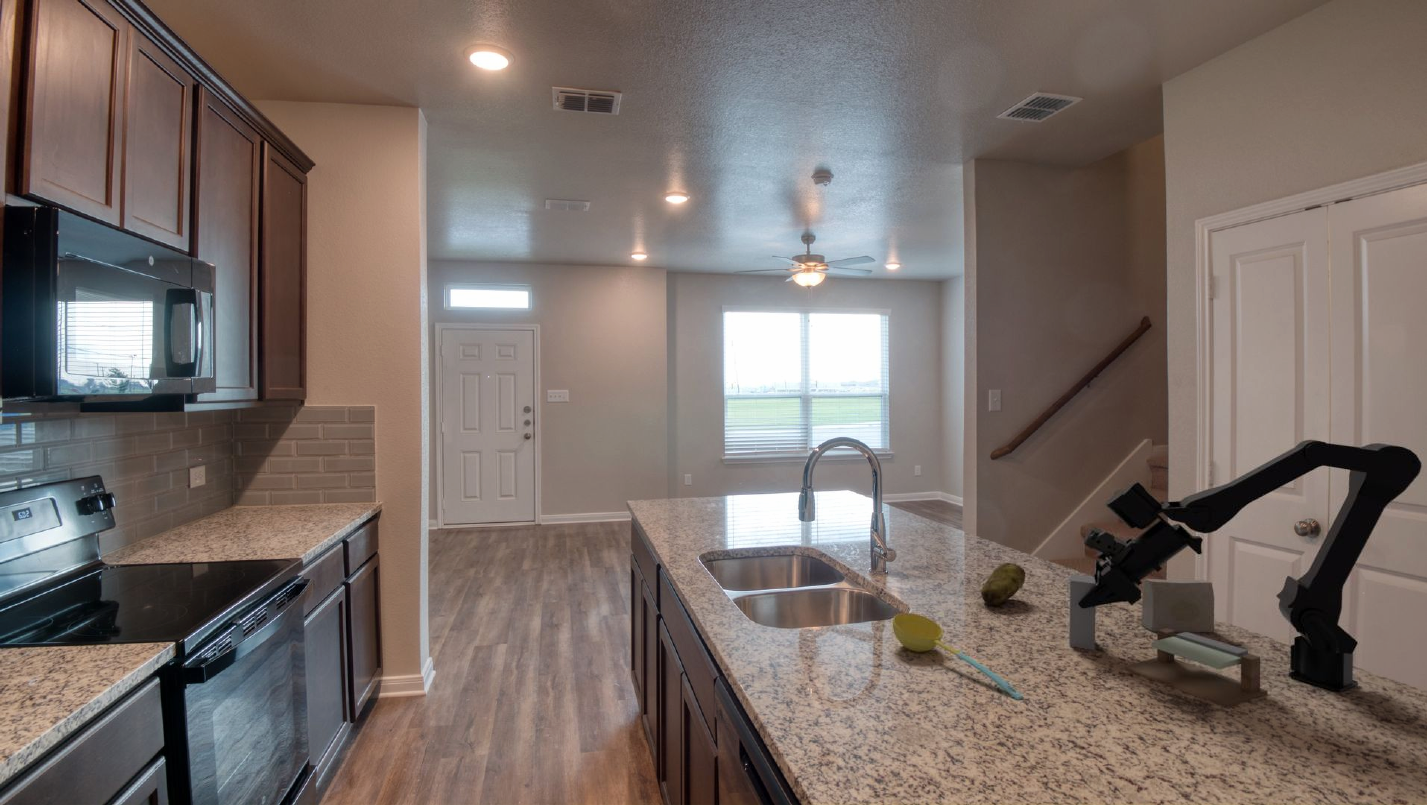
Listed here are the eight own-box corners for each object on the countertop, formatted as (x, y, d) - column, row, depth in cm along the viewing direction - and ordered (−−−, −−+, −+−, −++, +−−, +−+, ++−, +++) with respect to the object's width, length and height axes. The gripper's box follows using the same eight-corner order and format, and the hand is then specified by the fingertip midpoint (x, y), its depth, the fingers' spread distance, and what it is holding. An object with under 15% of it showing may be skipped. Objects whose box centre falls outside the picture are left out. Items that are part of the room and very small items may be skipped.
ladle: (914, 631, 125) (920, 604, 124) (1032, 724, 102) (1041, 691, 101) (878, 637, 121) (884, 609, 120) (992, 735, 98) (1000, 700, 97)
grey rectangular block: (1093, 640, 122) (1094, 576, 122) (1095, 650, 118) (1095, 583, 118) (1069, 637, 124) (1069, 573, 124) (1069, 646, 120) (1070, 580, 119)
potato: (965, 599, 147) (965, 563, 147) (1008, 592, 152) (1008, 558, 152) (993, 610, 139) (994, 573, 139) (1038, 603, 144) (1038, 567, 144)
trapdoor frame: (1267, 693, 101) (1267, 657, 101) (1226, 707, 96) (1227, 670, 96) (1164, 657, 114) (1165, 626, 114) (1124, 668, 110) (1125, 636, 110)
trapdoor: (1251, 662, 103) (1251, 651, 103) (1219, 673, 100) (1219, 661, 100) (1183, 641, 112) (1183, 630, 112) (1151, 649, 109) (1151, 639, 109)
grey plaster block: (1201, 626, 130) (1202, 578, 130) (1215, 632, 127) (1215, 583, 126) (1140, 625, 130) (1140, 577, 130) (1151, 632, 127) (1152, 583, 127)
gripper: (1110, 506, 126) (1045, 556, 132) (1118, 522, 110) (1044, 579, 115) (1159, 551, 123) (1090, 601, 128) (1175, 575, 106) (1095, 632, 112)
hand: (1079, 602), depth 121 cm, fingers closed on grey rectangular block, 5 cm apart
